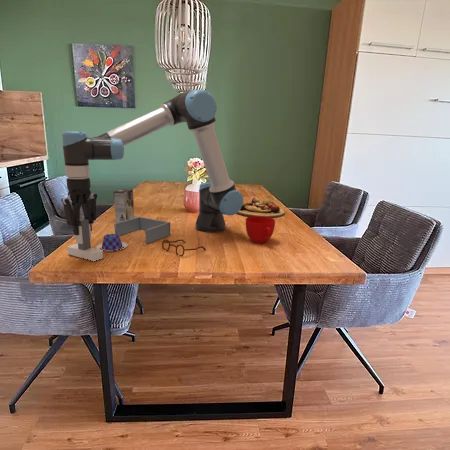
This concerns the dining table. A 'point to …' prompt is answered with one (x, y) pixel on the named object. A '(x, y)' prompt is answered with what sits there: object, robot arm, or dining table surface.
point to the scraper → (85, 245)
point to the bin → (144, 228)
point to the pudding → (111, 242)
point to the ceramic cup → (260, 228)
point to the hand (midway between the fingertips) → (84, 241)
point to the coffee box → (123, 205)
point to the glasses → (178, 246)
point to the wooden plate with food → (260, 209)
